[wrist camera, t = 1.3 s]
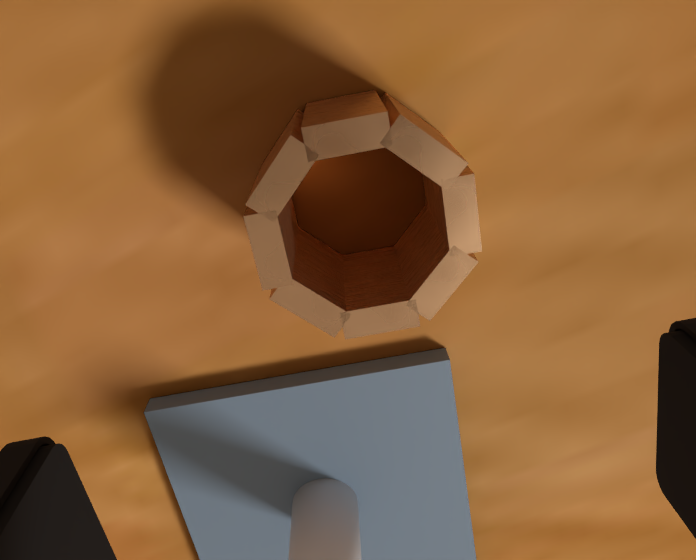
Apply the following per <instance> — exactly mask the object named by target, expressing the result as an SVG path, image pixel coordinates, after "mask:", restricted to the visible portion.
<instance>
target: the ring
mask: <svg viewBox="0 0 696 560" xmlns="http://www.w3.org/2000/svg"><path fill="white" fill-rule="evenodd" d="M380 148H387V149H388V150H390V151H391V152H393V153H394V154H396V155H397V156H398V157H400V158H401V159H403V160H404V161H406V162H407V163H408V164H410V165H411V166H413V167H414V168H416V169H417V170H418V171H420V172H421V173H422V178H423V185H424V193H425V200H426V205H425V206H424V207H423V209H422V210H421V211H420V213H419V214H418V215H417V217H416V218H415V219H414V221H413V222H412V223H411V224H410V226H409V227H408V228H407V230H406V231H405V232H404V234H403V235H402V236H401V238H400V239H399V240H398V241H397V243H396V244H395V245H394V246H391V247H385V248H380V249H374V250H368V251H363V252H357V253H352V254H346V255H342V254H340V253H339V252H337V251H335V250H334V249H332V248H331V247H329V246H327V245H326V244H324V243H323V242H321V241H320V240H318V239H316V238H315V237H313V236H312V235H310V234H309V233H307V232H305V231H304V230H302V229H301V228H299V226H298V222H297V217H296V213H295V208H294V204H293V200H292V195H293V193H294V192H295V190H296V189H297V187H298V186H299V184H300V183H301V181H302V180H303V178H304V177H305V175H306V174H307V172H308V171H309V169H310V168H311V166H312V165H313V164H314V162H315V161H316V160H322V159H327V158H332V157H338V156H343V155H348V154H354V153H359V152H364V151H370V150H375V149H380ZM467 164H468V162H467V161H466V160H465V159H464V158H463V157H462V156H461V155H460V154H459V152H458V151H457V150H456V149H455V148H454V147H453V146H452V145H451V144H450V143H449V141H448V140H447V139H446V138H445V137H444V136H443V135H442V134H441V133H440V132H439V131H438V130H436V129H435V128H434V127H432V126H431V125H430V124H428V123H427V122H425V121H424V120H423V119H421V118H420V117H419V116H417V115H416V114H415V113H413V112H412V111H410V110H409V109H408V108H406V107H405V106H404V105H402V104H401V103H399V102H398V101H397V100H395V99H394V98H393V97H391V96H390V95H388V94H387V93H386V92H385V93H384V94H383V96H382V97H381V99H380V97H379V96H378V94H377V92H376V91H375V90H372V91H367V92H361V93H356V94H351V95H346V96H340V97H335V98H330V99H325V100H320V101H314V102H309V103H306V107H305V112H304V113H303V112H302V111H300V110H299V109H297V111H296V113H295V114H294V116H293V117H292V119H291V120H290V122H289V123H288V125H287V127H286V128H285V130H284V131H283V133H282V134H281V136H280V137H279V139H278V141H277V142H276V144H275V145H274V147H273V148H272V150H271V151H270V153H269V155H268V156H267V158H266V159H265V161H264V162H263V164H262V165H261V168H260V170H259V173H258V175H257V177H256V180H255V182H254V185H253V187H252V189H251V192H250V194H249V197H248V199H247V201H246V204H245V205H246V206H247V208H246V211H245V213H244V216H243V217H244V221H245V225H246V228H247V232H248V236H249V240H250V244H251V248H252V251H253V255H254V259H255V263H256V267H257V271H258V274H259V278H260V282H261V286H262V290H268V289H271V294H270V300H272V301H273V302H275V303H277V304H279V305H280V306H282V307H284V308H285V309H287V310H289V311H290V312H292V313H294V314H295V315H297V316H299V317H301V318H302V319H304V320H306V321H307V322H309V323H311V324H312V325H314V326H316V327H318V328H319V329H321V330H323V331H324V332H326V333H328V334H329V335H331V336H333V337H335V336H336V335H337V333H338V332H339V331H340V329H341V328H342V327H343V331H344V336H345V339H350V338H356V337H362V336H367V335H373V334H379V333H385V332H390V331H396V330H402V329H408V328H413V327H419V326H420V322H419V315H418V314H420V315H422V316H423V317H425V318H426V319H428V320H431V319H432V318H433V316H434V315H435V314H436V313H437V312H438V310H439V309H440V308H441V307H442V306H443V304H444V303H445V302H446V301H447V299H448V298H449V297H450V296H451V295H452V293H453V292H454V291H455V290H456V289H457V287H458V286H459V285H460V284H461V283H462V281H463V280H464V279H465V278H466V277H467V275H468V274H469V273H470V272H471V270H472V269H473V268H474V267H475V266H476V264H477V263H478V260H477V259H476V257H475V255H474V253H475V252H480V251H482V246H481V236H480V226H479V216H478V206H477V196H476V186H475V176H474V173H473V172H472V171H471V169H470V168H469V167H468V166H467Z"/></svg>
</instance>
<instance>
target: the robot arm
mask: <svg viewBox="0 0 696 560" xmlns="http://www.w3.org/2000/svg"><path fill="white" fill-rule="evenodd" d="M656 474H657V479H658V482H659V485H660V488H661V490H662V492H663V494H664V495H665V497H666V498H667V500H668V501H669V502H670V504H671V505H672V507H673V508H674V509H675V511H676V512H677V513H678V515H679V516H680V518H681V519H682V520H683V522H684V523H685V525H686V526H687V527H688V529H689V530H690V531H691V533H692V534H693V536H694V537H695V538H696V318H692V319H687V320H681V321H676V322H674V323H673V324H672V325H671V327H670V329H669V333H664V334H663V335H661V338H660V342H659V374H658V413H657V452H656ZM0 560H117V559H116V557H115V554H114V552H113V550H112V548H111V546H110V543H109V541H108V539H107V537H106V535H105V532H104V530H103V528H102V526H101V524H100V521H99V519H98V517H97V515H96V513H95V510H94V508H93V506H92V504H91V502H90V499H89V497H88V495H87V493H86V491H85V488H84V486H83V484H82V482H81V480H80V478H79V475H78V473H77V471H76V469H75V467H74V464H73V462H72V460H71V458H70V456H69V453H68V451H67V449H66V448H65V446H63V445H62V444H55V443H54V441H53V440H52V439H50V438H49V437H39V438H34V439H28V440H23V441H18V442H12V443H9V444H7V445H6V446H5V447H4V448H3V449H2V450H1V451H0Z"/></svg>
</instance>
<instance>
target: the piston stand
mask: <svg viewBox="0 0 696 560" xmlns="http://www.w3.org/2000/svg"><path fill="white" fill-rule="evenodd" d="M144 414H145V417H146V419H147V422H148V425H149V427H150V430H151V433H152V435H153V438H154V440H155V443H156V446H157V448H158V451H159V454H160V456H161V459H162V461H163V464H164V467H165V469H166V472H167V475H168V477H169V480H170V482H171V485H172V488H173V490H174V493H175V496H176V498H177V501H178V503H179V506H180V509H181V511H182V514H183V517H184V519H185V522H186V524H187V527H188V530H189V532H190V535H191V538H192V540H193V543H194V546H195V548H196V551H197V553H198V556H199V559H200V560H476V554H475V546H474V539H473V531H472V524H471V516H470V509H469V501H468V494H467V486H466V479H465V471H464V464H463V456H462V449H461V441H460V433H459V426H458V418H457V411H456V403H455V396H454V388H453V381H452V373H451V366H450V359H449V356H448V354H447V351H446V348H441V349H435V350H429V351H423V352H418V353H412V354H406V355H400V356H394V357H389V358H383V359H377V360H371V361H365V362H360V363H354V364H348V365H342V366H336V367H331V368H325V369H319V370H313V371H307V372H302V373H296V374H290V375H284V376H278V377H273V378H267V379H261V380H255V381H249V382H244V383H238V384H232V385H226V386H220V387H215V388H209V389H203V390H197V391H192V392H186V393H180V394H174V395H168V396H163V397H157V398H151V399H150V400H149V402H148V404H147V406H146V409H145V411H144Z"/></svg>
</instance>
